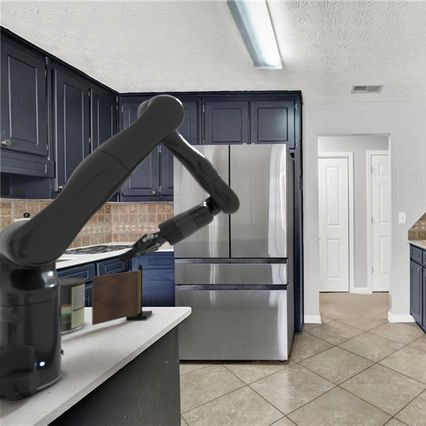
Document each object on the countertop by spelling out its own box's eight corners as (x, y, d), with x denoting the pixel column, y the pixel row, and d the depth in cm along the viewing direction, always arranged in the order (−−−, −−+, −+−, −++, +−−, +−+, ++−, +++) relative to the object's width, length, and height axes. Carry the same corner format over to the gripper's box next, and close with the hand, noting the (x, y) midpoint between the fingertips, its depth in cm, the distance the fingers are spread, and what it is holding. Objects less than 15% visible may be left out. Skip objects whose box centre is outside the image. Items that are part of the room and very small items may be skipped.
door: (93, 325, 87) (93, 277, 87) (91, 324, 88) (92, 276, 88) (141, 313, 98) (141, 270, 97) (139, 312, 98) (139, 270, 98)
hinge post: (146, 319, 97) (146, 266, 96) (125, 320, 95) (126, 266, 95) (152, 314, 101) (152, 263, 101) (132, 315, 100) (133, 263, 100)
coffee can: (49, 339, 81) (49, 287, 81) (32, 331, 86) (32, 282, 86) (92, 326, 91) (92, 279, 90) (75, 320, 95) (75, 275, 95)
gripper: (174, 223, 98) (120, 253, 91) (169, 211, 87) (105, 243, 79) (187, 242, 98) (133, 273, 90) (183, 232, 86) (121, 267, 78)
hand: (120, 259), depth 85 cm, fingers closed
